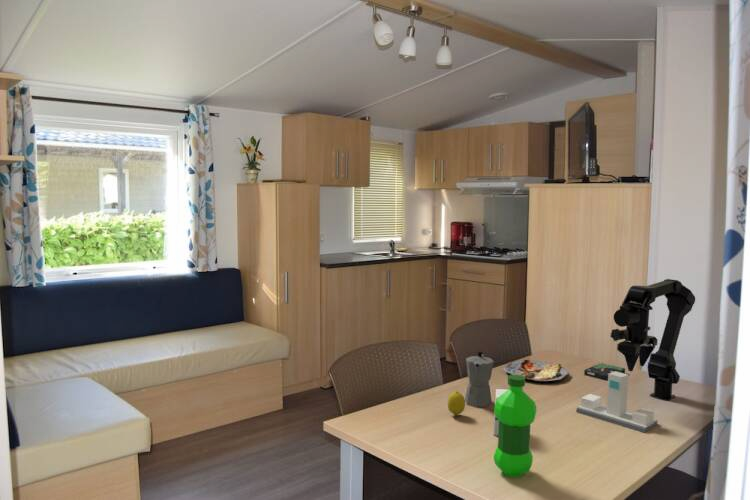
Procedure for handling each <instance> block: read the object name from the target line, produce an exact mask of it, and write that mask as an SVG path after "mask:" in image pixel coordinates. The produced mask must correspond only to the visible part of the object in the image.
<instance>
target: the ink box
mask: <svg viewBox="0 0 750 500" xmlns="http://www.w3.org/2000/svg"><path fill="white" fill-rule="evenodd" d="M508 390H509V389H504V388H503V389H501V388H496V389H495V396H494V397H495V398H494V404H495V403H496V401H497V399H498V397H499V396H501V395H502V394H503V393H505V392H506V391H508ZM498 434H499V420H498V418H497V417H496V416H495V412H494V411H493V436H495V437H498Z"/></svg>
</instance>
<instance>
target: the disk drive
mask: <svg viewBox="0 0 750 500" xmlns="http://www.w3.org/2000/svg"><path fill="white" fill-rule="evenodd" d="M615 371H616V372H620V373H624V374H626V368H623V367H620V366H617V365H616V366H615V365H610V364H605V363H598V364H596V365H593V366H591V367H589V368H586V369H584V372H583V375H584V376H586V377H587V376H588V377H590V378H594V379H598V380H602V381H606V382H608V374H609V373H612V372H615Z"/></svg>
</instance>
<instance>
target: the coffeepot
mask: <svg viewBox="0 0 750 500" xmlns="http://www.w3.org/2000/svg"><path fill="white" fill-rule="evenodd" d="M485 355H486V354H485V353H484V352H483V351H480V350H479V351H477V355H476V356H473V355H471V356H469V357H466V358H465V362H466V372H467V373H466V374H467V378H468V383H467V387H466V393H465V396H464V399H465V404H466V405H468V406H471V407H474V408H486V407H490V406H491V405H492V404H493V401H492V394H491V387H490V381H491V378H492V372H493V367H494V363H495V362H494V360H493V359H492V358H491V357H487V356H485Z"/></svg>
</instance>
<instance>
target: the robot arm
mask: <svg viewBox="0 0 750 500" xmlns="http://www.w3.org/2000/svg"><path fill="white" fill-rule="evenodd" d="M662 296H663V297H665V299H666V306H667V309H668V316H667V319H666V323H665V326H664V329H663V333H662V337H661V341H660V343H659V347H658V350H657V351H656V352H655V353H654V352H653V351H654V350H655V348H656V346H657V345H658V338H657V337H656V336H653V335H649V333H648V332H649V331H651V326H649V320H650V319H649V318H650V311H652V310H653V307H652V306H651V304H653V303H654V302H655V301H656V299H657V298H658V297H662ZM695 302H696V296H695V295H694V293H693V291H692V290H691V289H689V288H688V287H686V286H685V285H683V283H682V282H681V281H679V280H678V279H671V278H666V279H664V280H663V281H662V280H661V281H659V282H654V283H652V284H649V285H632V286H630V287H629V289H628V291H627V292H626V295H625V296H624V298H623V301H622V303H621V305H620V306H619V309H617V310H616V311H615V312H614V314H613V321H614V323H615V324H616V325H617V326H618V327H621V328H623V327H626V328H624V329H619V328H613V329H611V332H610V336H609V337H610V338H611V339H612V340H613V342H617V341H620V342H619V343H618V344H617V345H616V350H617V352H619V353H621V354H622V355H623V356H624V358H625V361H626V363H625V364H626V366H627V371H628V372H633V370H634V368H635V365H636V364H637V361H638V359H639V366H640V367H645V365H646V362H647V361H648V360H649V361H648V362H647V374H648V378H650V379H653V380H654V385H653V387H654V388H653V392H652V393H650V394H649V396H650V397H653V398H658V399H661V400H665V401H670V400H672V399H674V398H675V397H676V395H675V394H672V393H673V384H674V385H677V384H678V383H679V381H680V378H681V376H680V374H679V372H678V371H677V369H676V366H677V362H676V360H675V356H674V353H675V351H676V346H677V343H678V339H679V335H680V332H681V330H682V325H683V322H684V318H685V316H686V315H688V314H689V313H690V312H692V310H693V306H694V305H695ZM621 340H623V341H621Z"/></svg>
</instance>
